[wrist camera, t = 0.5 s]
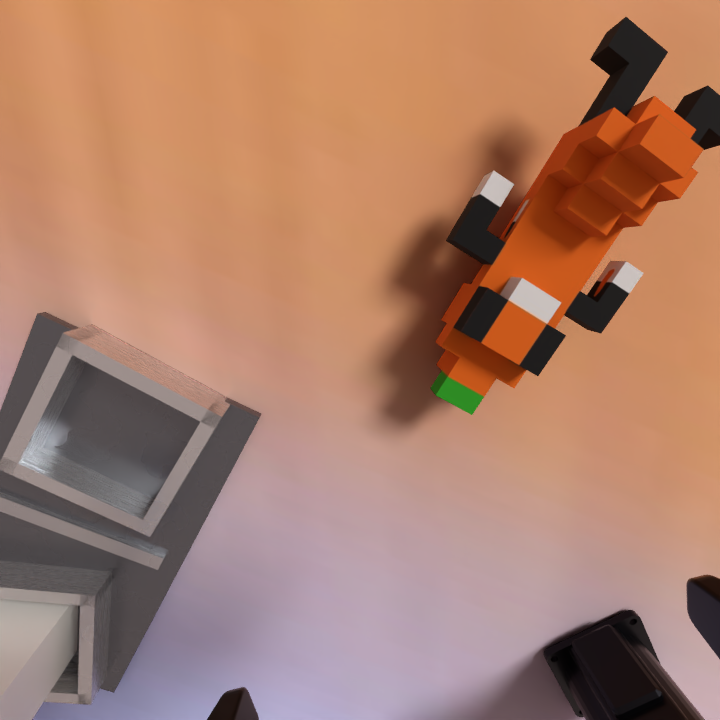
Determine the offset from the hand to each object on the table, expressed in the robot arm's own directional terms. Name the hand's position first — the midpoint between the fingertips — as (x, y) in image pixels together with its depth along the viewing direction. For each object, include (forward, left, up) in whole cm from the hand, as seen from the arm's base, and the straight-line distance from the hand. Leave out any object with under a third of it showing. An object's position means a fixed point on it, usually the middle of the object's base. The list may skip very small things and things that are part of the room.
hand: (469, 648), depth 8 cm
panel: (+2, +17, -13) cm, 22 cm away
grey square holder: (+6, +12, -13) cm, 19 cm away
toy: (+4, -9, -14) cm, 17 cm away
